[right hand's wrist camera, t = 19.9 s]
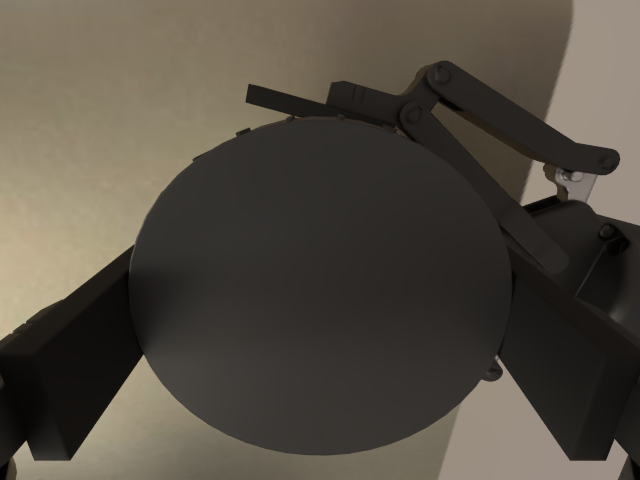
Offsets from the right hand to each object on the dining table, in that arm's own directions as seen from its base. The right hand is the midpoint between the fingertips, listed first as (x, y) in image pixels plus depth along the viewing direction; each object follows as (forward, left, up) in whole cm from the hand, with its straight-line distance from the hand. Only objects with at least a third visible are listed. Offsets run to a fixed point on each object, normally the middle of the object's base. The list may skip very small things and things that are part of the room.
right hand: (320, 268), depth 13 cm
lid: (0, 0, +3) cm, 3 cm away
